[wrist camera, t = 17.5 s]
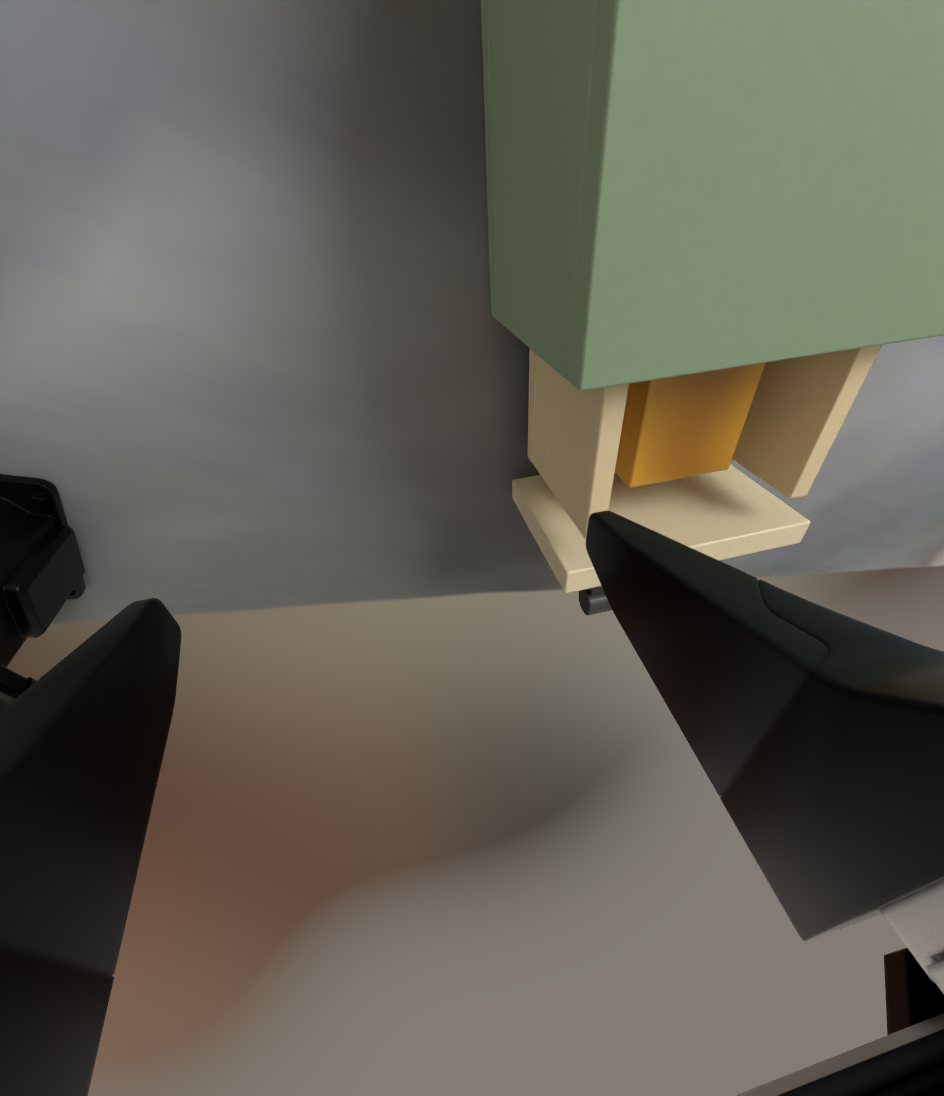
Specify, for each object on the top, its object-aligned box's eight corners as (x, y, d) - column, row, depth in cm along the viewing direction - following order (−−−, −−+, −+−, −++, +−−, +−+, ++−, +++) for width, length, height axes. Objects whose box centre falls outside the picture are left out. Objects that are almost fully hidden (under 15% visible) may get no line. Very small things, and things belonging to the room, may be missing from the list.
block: (583, 440, 21) (629, 488, 18) (594, 341, 18) (651, 376, 15) (669, 426, 22) (729, 470, 18) (691, 328, 19) (768, 358, 15)
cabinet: (749, 283, 20) (961, 333, 13) (490, 315, 18) (579, 392, 12) (928, -328, 11) (1834, -1117, 4) (467, -366, 10) (773, -1688, 3)
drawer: (678, 530, 28) (762, 615, 22) (512, 564, 26) (557, 664, 21) (785, 173, 17) (1002, 166, 11) (509, 198, 15) (604, 204, 10)
